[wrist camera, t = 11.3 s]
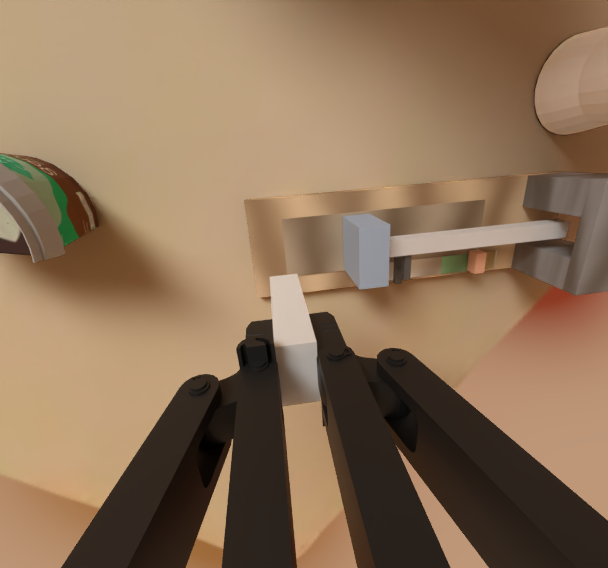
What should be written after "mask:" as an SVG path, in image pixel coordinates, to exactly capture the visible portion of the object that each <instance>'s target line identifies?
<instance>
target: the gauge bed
mask: <svg viewBox="0 0 608 568" xmlns="http://www.w3.org/2000/svg"><path fill="white" fill-rule="evenodd" d="M244 203H245V210H246V217H247V224H248V232H249V239H250V246H251V253H252V260H253V267H254V274H255V281H256V288H257V295H258V298H262V297H270V296H271V291H270V277H271V276H280V275H290V274H297V275H298V278H299V282H300V285H301V289H302V292H312V291H320V290H328V289H337V288H345V287H353V286H356V284H355V283H354V282H353V280H352V279H351V278H350V276H349V275H348V274H347V272H346V271H345V270H344V245H343V216H350V215H360V214H371V215H373V216H375V217H377V218H379V219H381V220H383V221H384V222H386V223H388V224H390V236H400V235H409V234H419V233H428V232H438V231H447V230H456V229H466V228H475V227H485V226H494V225H504V224H513V223H522V222H532V221H541V220H551V219H557V216H558V213H561V214H566V215H572V216H577V217H581V220H580V224H579V227H578V231H577V235H576V239H575V243H573V242H570V241H566V240H562V239H559V238H557V239H548V240H540V241H531V242H522V243H513V244H504V245H495V246H486V247H477V248H468V249H460V250H451V251H442V252H433V253H424V254H415V255H412V258H411V276H410V279H407V280H411V279H420V278H428V277H436V276H445V275H453V274H461V273H470V271H468V270H467V264H468V256H469V251H470V250H478V249H479V250H481V251H484V252H486V253H487V256H486V262H485V269H484V271H486V270H495V269H503V268H513V269H516V270H518V271H520V272H522V273H525V274H527V275H529V276H532V277H534V278H536V279H539V280H541V281H543V282H545V283H548V284H550V285H552V286H555V287H557V288H559V289H561V290H564V291H566V292H568V293H571V294H573V295H583V294H591V293H598V292H606V291H608V174H602V173H580V172H559V171H558V172H547V173H536V174H525V175H514V176H503V177H492V178H481V179H470V180H459V181H448V182H437V183H426V184H415V185H404V186H393V187H382V188H371V189H360V190H349V191H338V192H327V193H316V194H305V195H294V196H283V197H272V198H261V199H250V200H245V201H244ZM393 270H394V257H389V282H393ZM402 281H403V280H402Z"/></svg>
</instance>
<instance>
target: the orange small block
mask: <svg viewBox="0 0 608 568" xmlns="http://www.w3.org/2000/svg"><path fill="white" fill-rule="evenodd" d="M486 256H487V253H486V252H484V251H481V250H479V249H478V250H470V251H469V256H468V264H467V270H468V271H470V272H472V273H473V274H478V273H484V269H485V262H486Z"/></svg>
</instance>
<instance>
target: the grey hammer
mask: <svg viewBox="0 0 608 568" xmlns="http://www.w3.org/2000/svg"><path fill="white" fill-rule="evenodd" d="M569 223H570V222H568V221H564V220H559V219H551V220H541V221H532V222H522V223H513V224H504V225H494V226H485V227H475V228H466V229H456V230H447V231H438V232H428V233H419V234H409V235H400V236H390V224H388V223H386V222H384V221H383V220H381V219H379V218H377V217H375V216H373V215H371V214H360V215H350V216H343V245H344V270H345V271H346V272H347V274H348V275H349V276H350V278H351V279H352V280H353V282H354V283H355V284H356V286H357V287H358V288H359V290H361V289H369V288H377V287H386V286H389V257H394V270H393V282H394V283H395V284H400V283H402V280H407V279H410V276H411V258H412V255H415V254H424V253H433V252H442V251H451V250H460V249H468V248H477V247H486V246H495V245H504V244H513V243H522V242H531V241H540V240H548V239H557V238H566V236H567V232H568V228H569Z"/></svg>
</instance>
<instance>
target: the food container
mask: <svg viewBox="0 0 608 568" xmlns="http://www.w3.org/2000/svg"><path fill="white" fill-rule="evenodd" d="M98 226H99V225H98V220H97V215H96V211H95V209H94V207H93V205H92V203H91V201H90V199H89V197H88V195H87V194H86V192H85V191H84V190H83V189H82V188H81V187H80V186H79V185H78V183H77V182H76V181H75V180H74V179H73V178H72V177H71V176H69V175H68V174H66V173H65V172H64V171H62V170H61V169H59V168H58V167H56V166H55V165H53V164H51V163H48V162H45V161H43V160H40V159H37V158H33V157H28V156H20V155H11V154H2V153H0V253H7V254H21V255H31V256H32V260H33V263H36V262H39V261H41V260H49V259H52V258H55V257H58V256H61V255H64V254H65V249H64V247H65V246H66V245H68V244H70V243H71V242H73V241H75V240H76V239H78V238H80V237H81V236H83V235H85V234H86V233H88V232H90V231H91V230H93V229H95V228H96V227H98Z"/></svg>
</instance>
